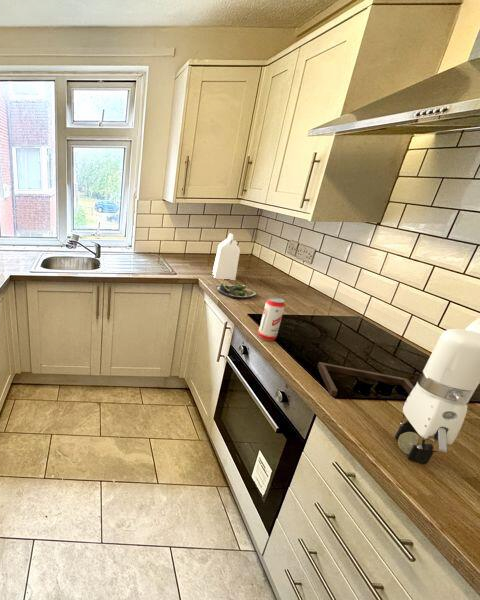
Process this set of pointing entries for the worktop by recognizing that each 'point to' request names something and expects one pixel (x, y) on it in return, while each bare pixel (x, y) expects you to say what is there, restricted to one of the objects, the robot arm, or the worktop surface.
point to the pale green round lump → (408, 441)
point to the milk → (226, 259)
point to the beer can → (271, 318)
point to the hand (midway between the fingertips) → (409, 450)
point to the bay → (359, 373)
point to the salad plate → (235, 291)
